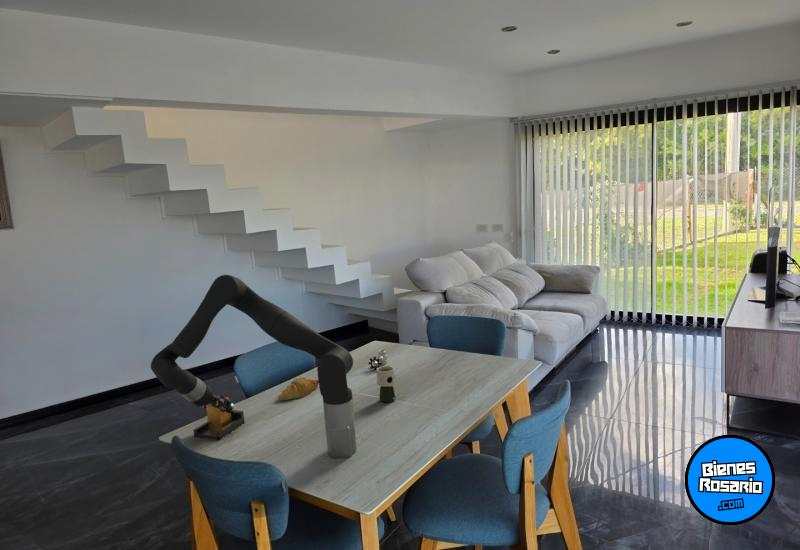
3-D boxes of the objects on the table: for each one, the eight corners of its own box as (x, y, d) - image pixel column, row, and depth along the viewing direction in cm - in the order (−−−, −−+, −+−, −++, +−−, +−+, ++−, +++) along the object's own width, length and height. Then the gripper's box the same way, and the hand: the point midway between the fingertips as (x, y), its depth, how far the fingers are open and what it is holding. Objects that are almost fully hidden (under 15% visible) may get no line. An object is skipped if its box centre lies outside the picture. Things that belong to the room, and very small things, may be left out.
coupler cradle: (219, 440, 189) (217, 420, 188) (194, 436, 192) (191, 417, 191) (246, 422, 202) (244, 403, 201) (221, 419, 206) (219, 401, 205)
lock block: (221, 430, 193) (218, 403, 192) (208, 429, 195) (205, 402, 194) (232, 423, 199) (229, 397, 198) (220, 422, 201) (217, 396, 200)
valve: (378, 362, 265) (368, 370, 254) (377, 349, 264) (367, 356, 253) (391, 363, 263) (381, 371, 252) (390, 349, 262) (380, 357, 251)
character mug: (387, 406, 209) (385, 374, 207) (372, 403, 213) (369, 371, 211) (402, 397, 218) (400, 365, 216) (387, 394, 222) (385, 363, 220)
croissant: (284, 411, 220) (288, 397, 216) (269, 396, 225) (272, 381, 221) (323, 394, 236) (327, 380, 232) (308, 380, 241) (312, 366, 237)
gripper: (216, 382, 185) (241, 401, 197) (183, 379, 190) (209, 398, 202) (208, 402, 181) (233, 421, 193) (174, 399, 186) (201, 418, 198)
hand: (221, 409), depth 198 cm, fingers open, 8 cm apart
